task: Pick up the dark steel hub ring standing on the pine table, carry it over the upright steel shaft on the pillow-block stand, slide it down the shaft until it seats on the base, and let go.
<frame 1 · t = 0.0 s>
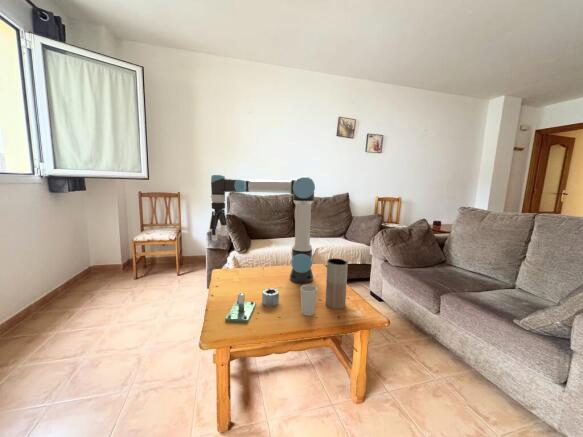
hand: (218, 238, 140), 28 cm above the table, fingers open, 13 cm apart
hub: (270, 302, 121), on the table
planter: (335, 304, 121), on the table
shaft stand: (241, 312, 111), on the table
cup: (307, 312, 113), on the table
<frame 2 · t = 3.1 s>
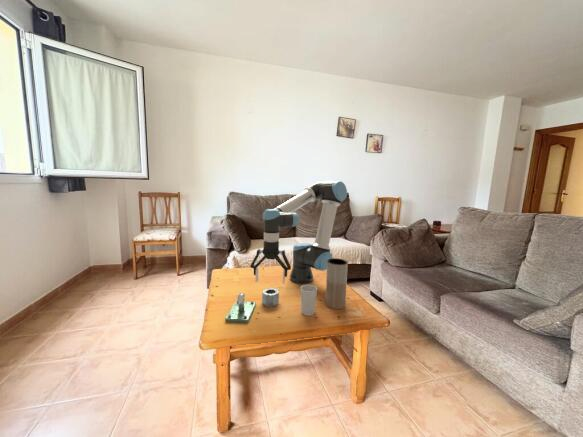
hand: (270, 282, 119), 11 cm above the table, fingers open, 13 cm apart
nothing on the table moved.
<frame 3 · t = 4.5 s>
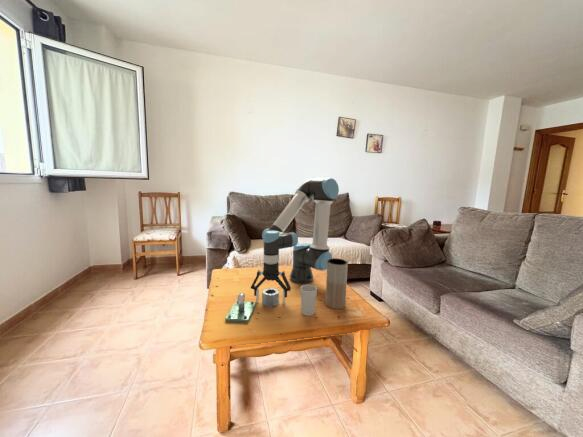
hand: (270, 302, 121), 0 cm above the table, fingers open, 13 cm apart
nothing on the table moved.
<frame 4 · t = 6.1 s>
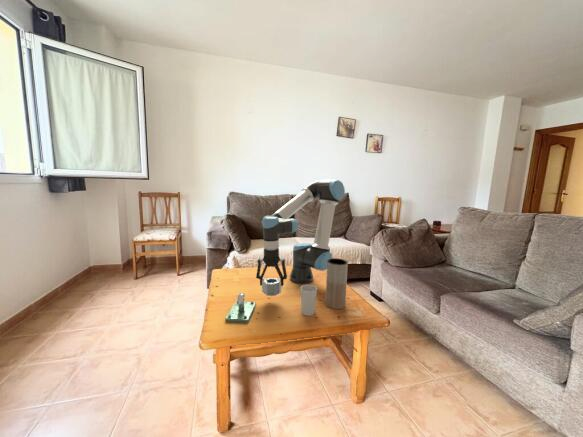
hand: (271, 291, 121), 6 cm above the table, fingers closed on hub, 8 cm apart
hub: (271, 292, 121), point 6 cm above the table, touching gripper
everything else where it was.
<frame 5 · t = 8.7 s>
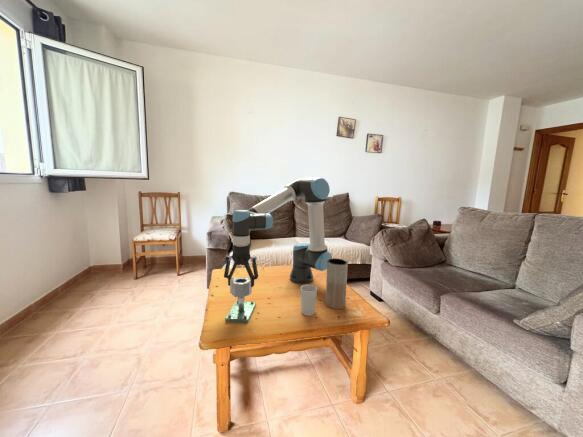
hand: (241, 292, 109), 10 cm above the table, fingers closed on hub, 8 cm apart
hub: (241, 293, 109), point 10 cm above the table, touching gripper
everything else where it was.
when the fingers open (2 cm above the table, at t = 11.2 s): hub stays where it is, resting on shaft stand.
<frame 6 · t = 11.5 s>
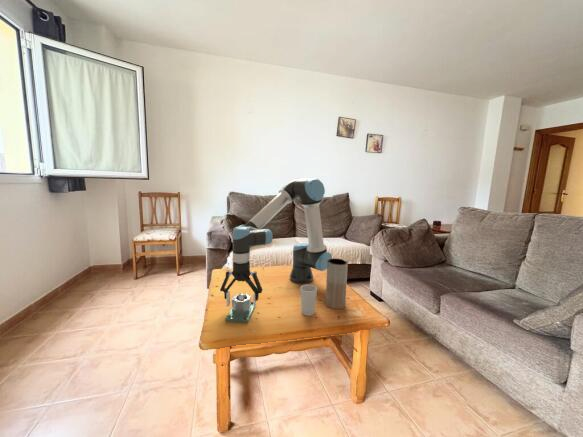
hand: (241, 306, 110), 3 cm above the table, fingers open, 12 cm apart
hub: (241, 309, 111), point 1 cm above the table, touching shaft stand
everything else where it was.
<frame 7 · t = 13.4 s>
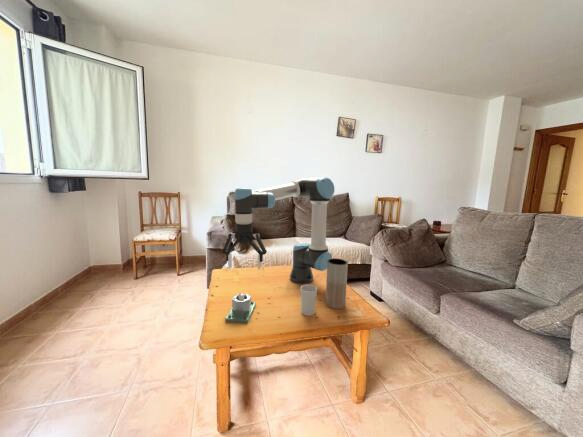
hand: (244, 268, 110), 21 cm above the table, fingers open, 13 cm apart
nothing on the table moved.
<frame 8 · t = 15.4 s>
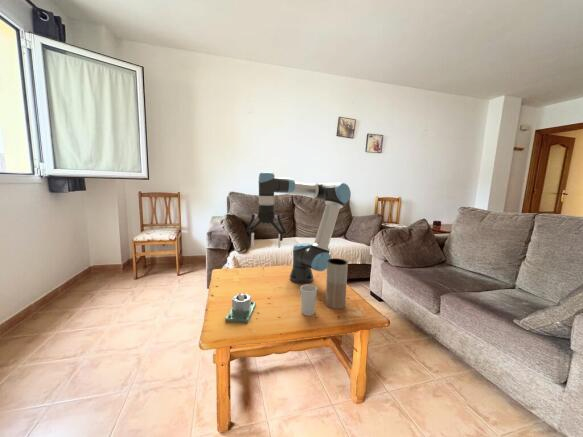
hand: (265, 246, 119), 29 cm above the table, fingers open, 13 cm apart
nothing on the table moved.
at the end: hub 0.1 cm off-centre on the shaft stand, point 1.5 cm above the shaft stand's base; hub tilted 0°; the gripper is holding nothing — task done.
